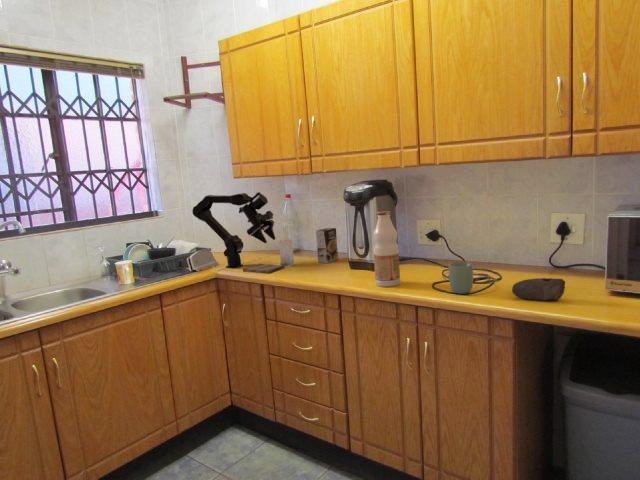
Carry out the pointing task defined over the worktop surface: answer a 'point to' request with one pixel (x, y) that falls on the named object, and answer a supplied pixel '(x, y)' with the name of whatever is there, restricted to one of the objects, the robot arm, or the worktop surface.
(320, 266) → the worktop surface
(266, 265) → the plate
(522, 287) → the perforated stone tool
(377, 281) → the fruit juice
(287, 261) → the aluminium block
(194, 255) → the grey metal block
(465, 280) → the cup
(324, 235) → the coffee box
